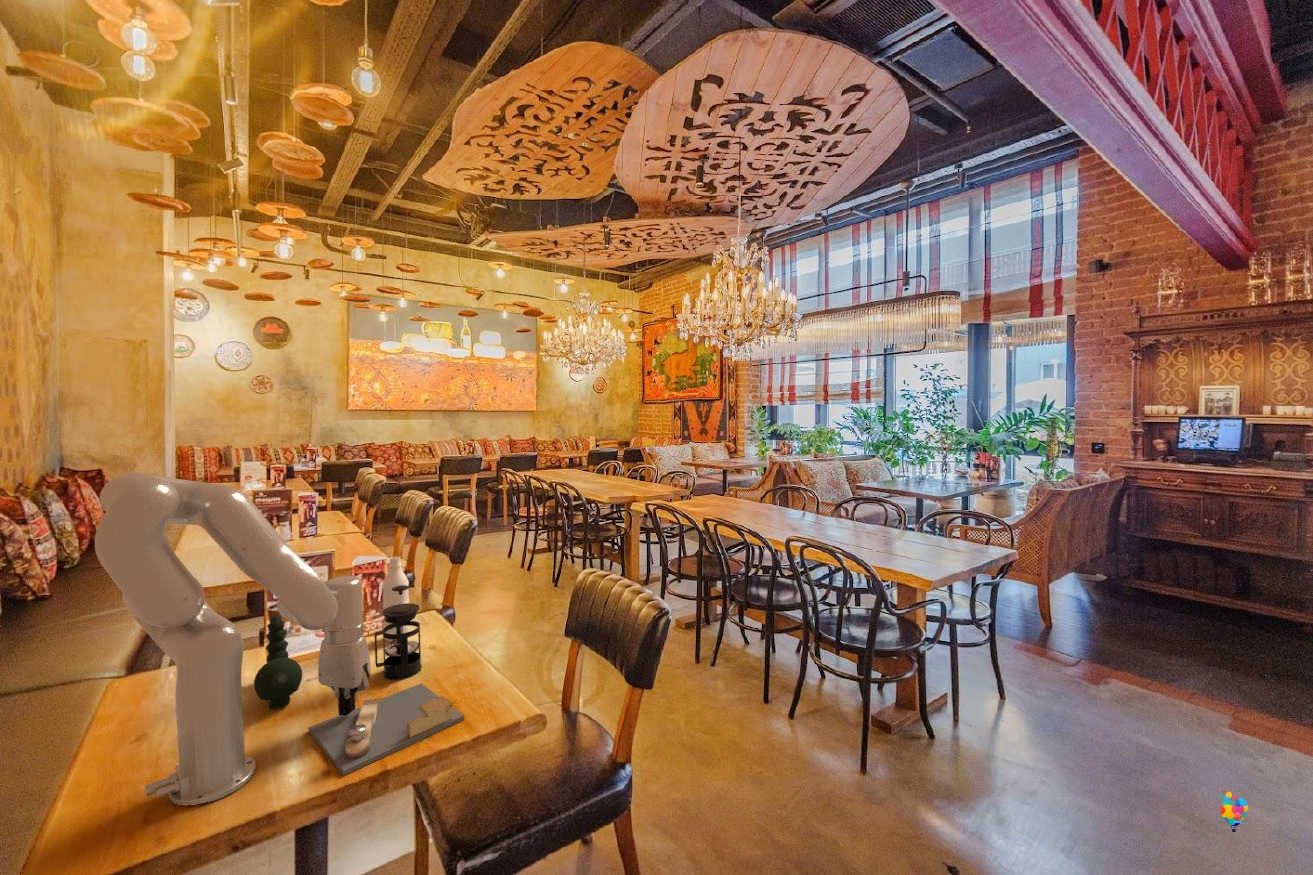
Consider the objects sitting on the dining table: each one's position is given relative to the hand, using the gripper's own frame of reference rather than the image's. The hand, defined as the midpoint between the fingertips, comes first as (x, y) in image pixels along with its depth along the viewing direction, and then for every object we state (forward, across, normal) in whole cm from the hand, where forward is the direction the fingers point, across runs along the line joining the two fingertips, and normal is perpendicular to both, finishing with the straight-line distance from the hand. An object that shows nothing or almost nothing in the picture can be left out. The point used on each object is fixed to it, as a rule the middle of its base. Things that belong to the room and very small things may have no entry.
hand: (347, 712), depth 123 cm
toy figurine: (+2, -24, +6) cm, 25 cm away
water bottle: (+3, -17, +40) cm, 44 cm away
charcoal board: (+2, +10, 0) cm, 10 cm away
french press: (+3, -3, +23) cm, 23 cm away
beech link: (+1, +8, -4) cm, 9 cm away
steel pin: (-1, +11, -10) cm, 15 cm away
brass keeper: (+1, +19, +1) cm, 19 cm away
